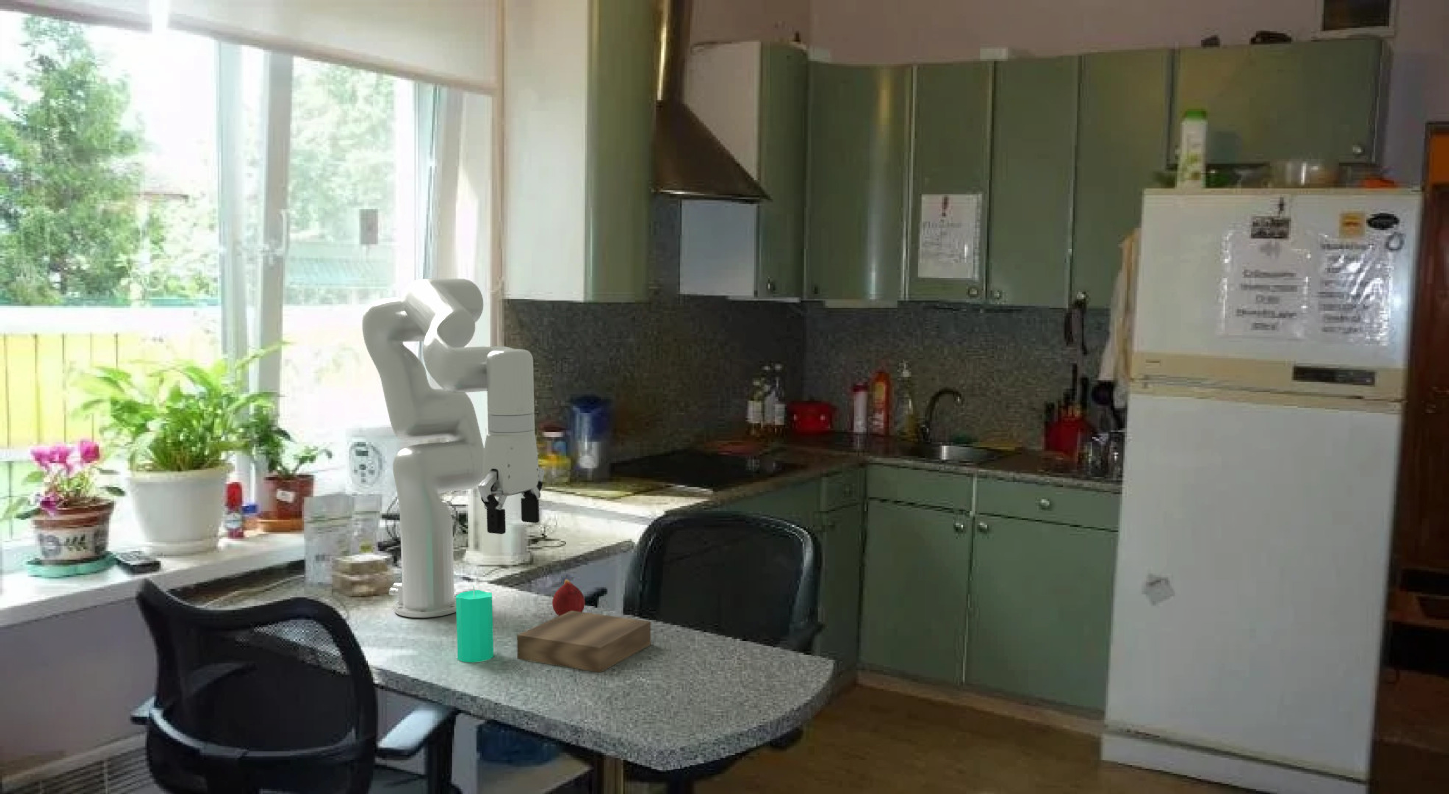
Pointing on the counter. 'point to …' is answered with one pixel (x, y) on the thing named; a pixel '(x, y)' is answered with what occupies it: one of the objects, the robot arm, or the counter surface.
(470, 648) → the candle
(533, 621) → the counter surface
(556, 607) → the onion
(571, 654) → the walnut base
